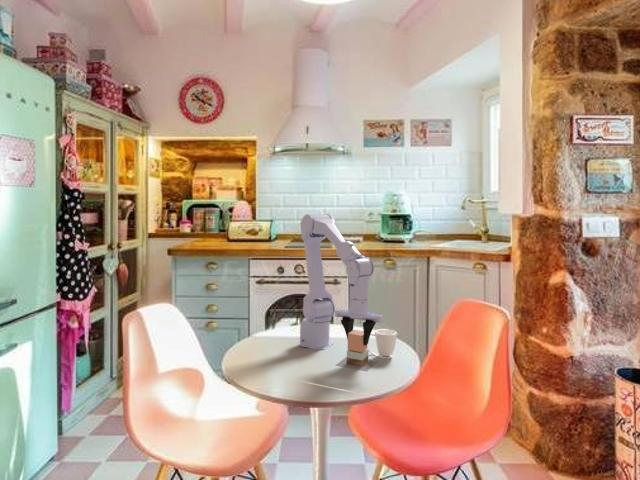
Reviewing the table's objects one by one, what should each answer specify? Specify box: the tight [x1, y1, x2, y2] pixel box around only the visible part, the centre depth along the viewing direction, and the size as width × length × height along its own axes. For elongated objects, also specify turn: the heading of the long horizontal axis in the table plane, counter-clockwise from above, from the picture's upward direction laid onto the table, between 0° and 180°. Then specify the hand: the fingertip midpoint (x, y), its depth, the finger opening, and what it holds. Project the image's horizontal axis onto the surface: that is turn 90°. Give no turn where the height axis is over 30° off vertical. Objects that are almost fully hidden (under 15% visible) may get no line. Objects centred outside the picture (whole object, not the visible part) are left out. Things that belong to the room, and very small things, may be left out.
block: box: [347, 329, 368, 352], centre depth 142 cm, size 4×4×5 cm
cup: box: [367, 328, 398, 359], centre depth 150 cm, size 7×10×8 cm
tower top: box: [346, 349, 369, 360], centre depth 143 cm, size 5×5×2 cm
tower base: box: [346, 355, 369, 367], centre depth 143 cm, size 5×5×2 cm
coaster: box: [335, 356, 379, 372], centre depth 143 cm, size 10×10×1 cm
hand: (357, 343), depth 142 cm, fingers closed on block, 4 cm apart
